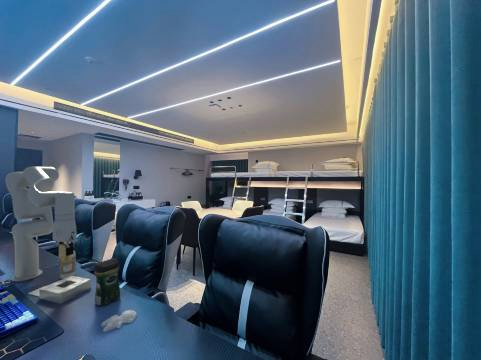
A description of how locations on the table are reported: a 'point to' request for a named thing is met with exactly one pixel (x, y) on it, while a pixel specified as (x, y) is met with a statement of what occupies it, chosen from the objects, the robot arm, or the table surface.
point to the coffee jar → (107, 282)
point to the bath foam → (68, 268)
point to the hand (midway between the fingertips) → (65, 254)
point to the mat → (36, 292)
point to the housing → (64, 289)
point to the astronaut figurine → (119, 320)
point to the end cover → (64, 255)
